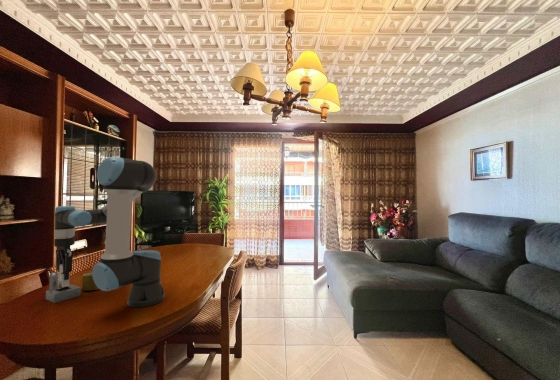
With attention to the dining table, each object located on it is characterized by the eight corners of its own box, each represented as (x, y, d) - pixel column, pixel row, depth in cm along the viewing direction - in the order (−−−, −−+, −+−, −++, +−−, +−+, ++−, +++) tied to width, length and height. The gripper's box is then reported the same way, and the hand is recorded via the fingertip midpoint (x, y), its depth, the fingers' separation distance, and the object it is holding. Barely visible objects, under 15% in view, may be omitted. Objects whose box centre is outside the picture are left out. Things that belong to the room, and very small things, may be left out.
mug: (92, 290, 122) (91, 269, 125) (76, 295, 124) (76, 275, 127) (114, 286, 134) (113, 268, 137) (99, 291, 136) (98, 272, 139)
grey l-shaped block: (80, 295, 120) (81, 275, 120) (54, 303, 111) (54, 281, 112) (64, 289, 129) (64, 270, 130) (39, 295, 120) (39, 275, 121)
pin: (69, 286, 119) (69, 263, 119) (60, 288, 116) (61, 265, 117) (66, 285, 120) (66, 262, 121) (57, 287, 118) (58, 264, 118)
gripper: (81, 237, 118) (80, 286, 118) (67, 235, 126) (66, 280, 126) (62, 239, 112) (60, 291, 111) (48, 237, 120) (46, 285, 119)
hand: (63, 285), depth 118 cm, fingers closed on pin, 3 cm apart
